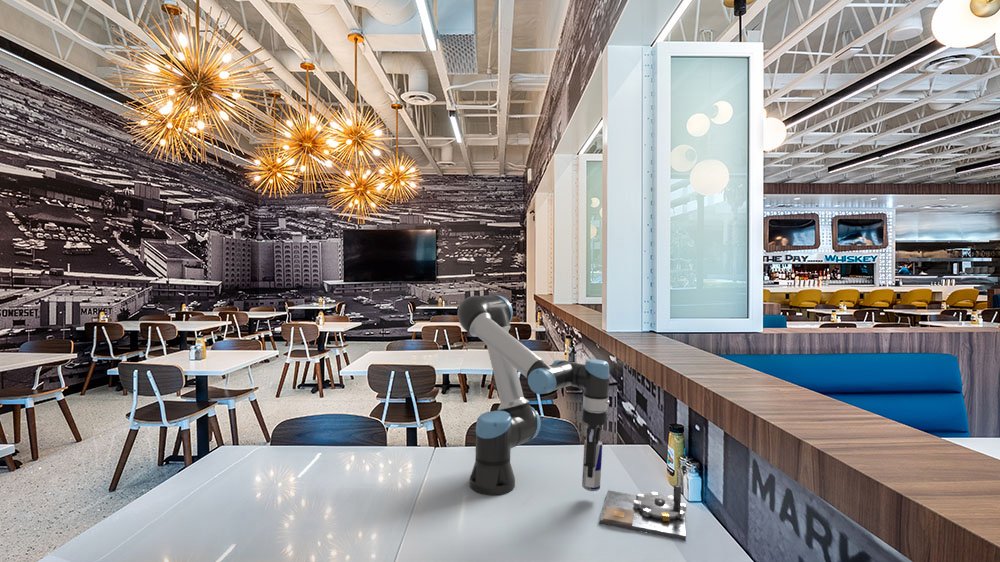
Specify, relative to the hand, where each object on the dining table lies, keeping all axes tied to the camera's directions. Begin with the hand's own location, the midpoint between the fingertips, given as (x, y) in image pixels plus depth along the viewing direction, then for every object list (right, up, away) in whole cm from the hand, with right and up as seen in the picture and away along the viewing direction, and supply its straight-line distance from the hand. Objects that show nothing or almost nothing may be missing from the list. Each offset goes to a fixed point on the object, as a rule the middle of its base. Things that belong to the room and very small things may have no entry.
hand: (591, 482), depth 154 cm
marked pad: (+6, -5, -13) cm, 15 cm away
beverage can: (0, -2, 0) cm, 2 cm away
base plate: (+14, -6, -9) cm, 18 cm away
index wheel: (+19, -5, -8) cm, 21 cm away
